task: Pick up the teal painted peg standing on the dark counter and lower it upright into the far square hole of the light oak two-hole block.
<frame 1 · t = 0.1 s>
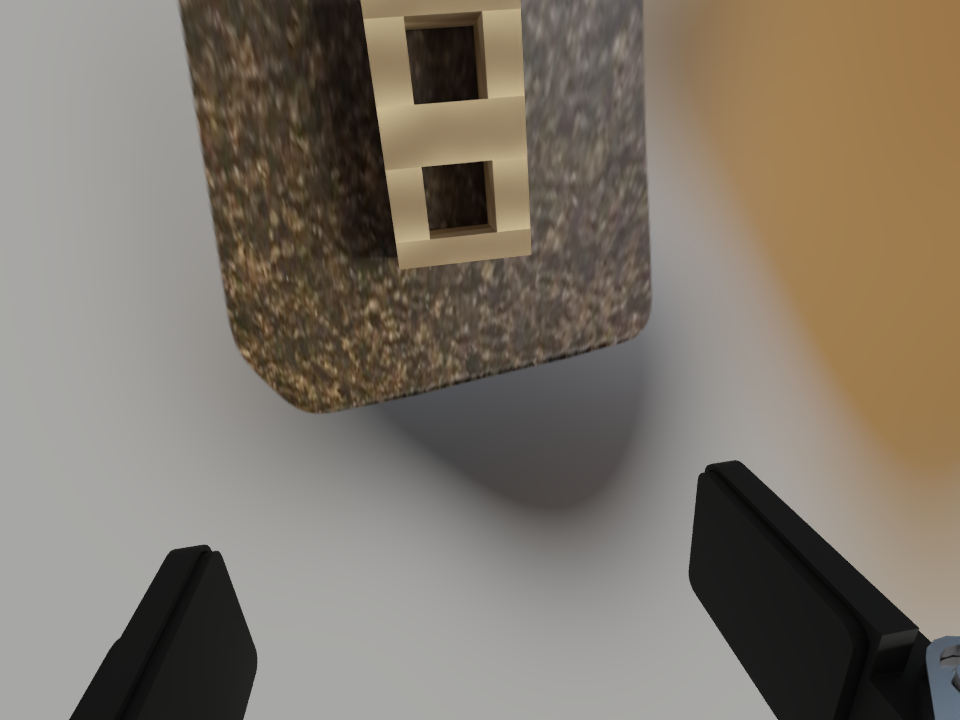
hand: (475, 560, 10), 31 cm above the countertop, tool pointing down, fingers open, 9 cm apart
hole block: (448, 134, 36), on the countertop
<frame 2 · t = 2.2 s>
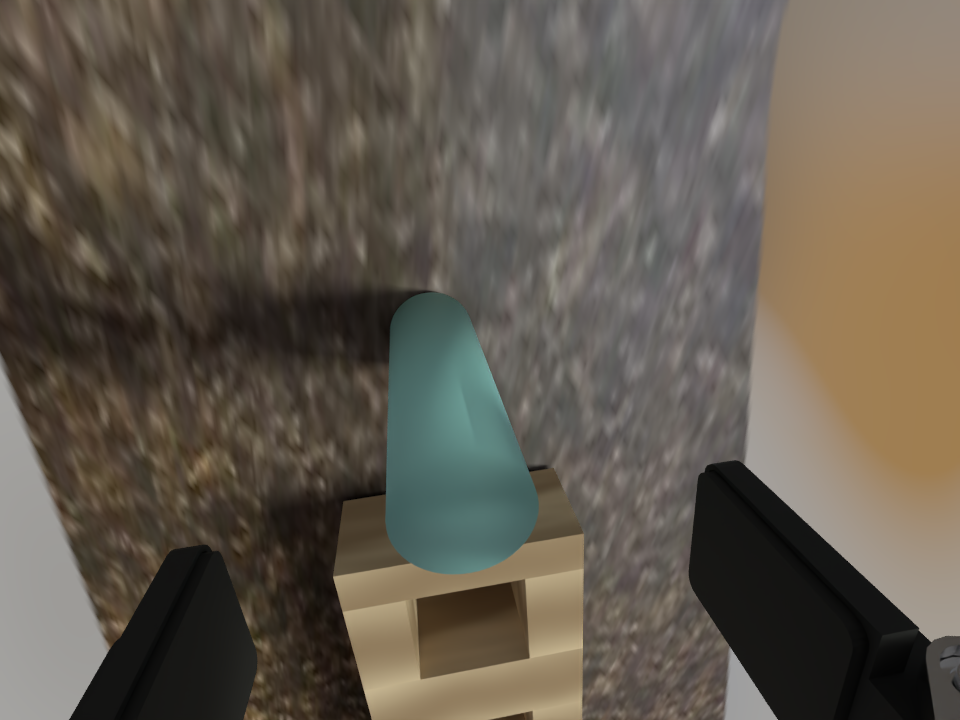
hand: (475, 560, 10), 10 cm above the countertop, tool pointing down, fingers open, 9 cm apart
hole block: (467, 614, 25), on the countertop
peg: (431, 331, 19), on the countertop
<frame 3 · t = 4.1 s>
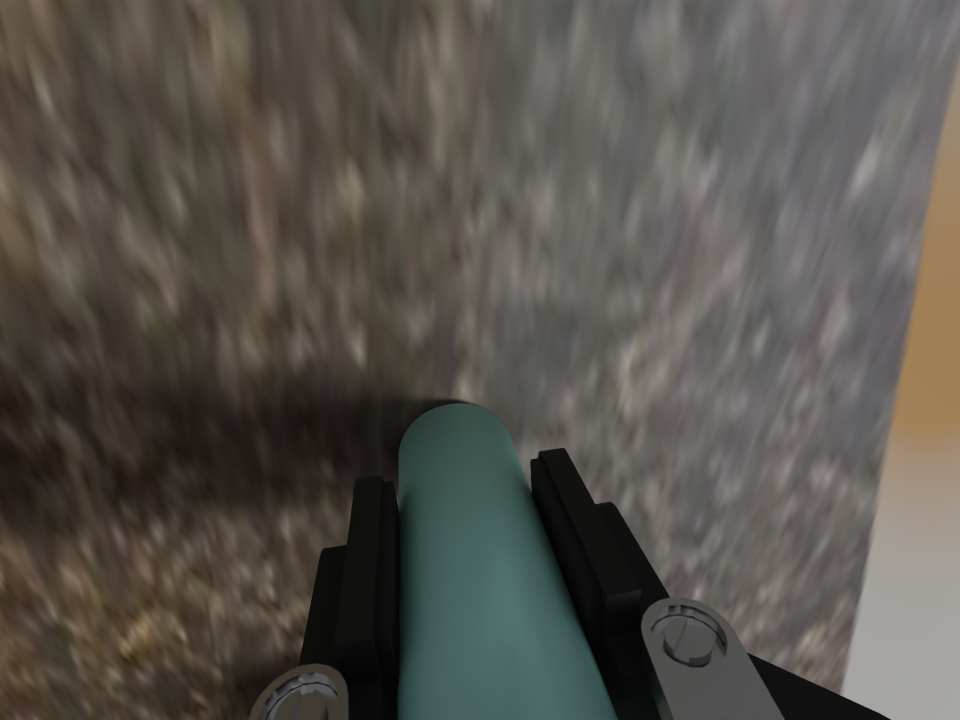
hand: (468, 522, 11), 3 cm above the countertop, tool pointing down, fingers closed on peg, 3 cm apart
peg: (456, 454, 14), on the countertop, touching gripper
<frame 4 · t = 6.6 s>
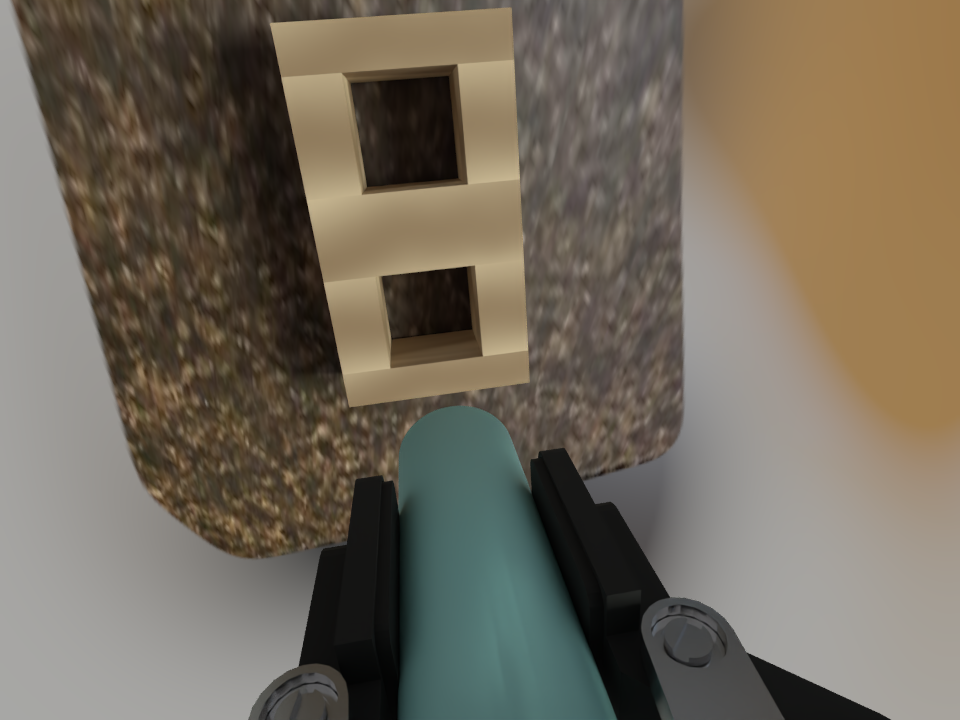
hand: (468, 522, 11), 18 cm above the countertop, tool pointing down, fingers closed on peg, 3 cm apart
hole block: (417, 219, 26), on the countertop
peg: (456, 456, 14), point 16 cm above the countertop, touching gripper
when the fingers open (5 cm above the countertop, at t = 9.4 s): peg drops 2 cm, resting in hole block.
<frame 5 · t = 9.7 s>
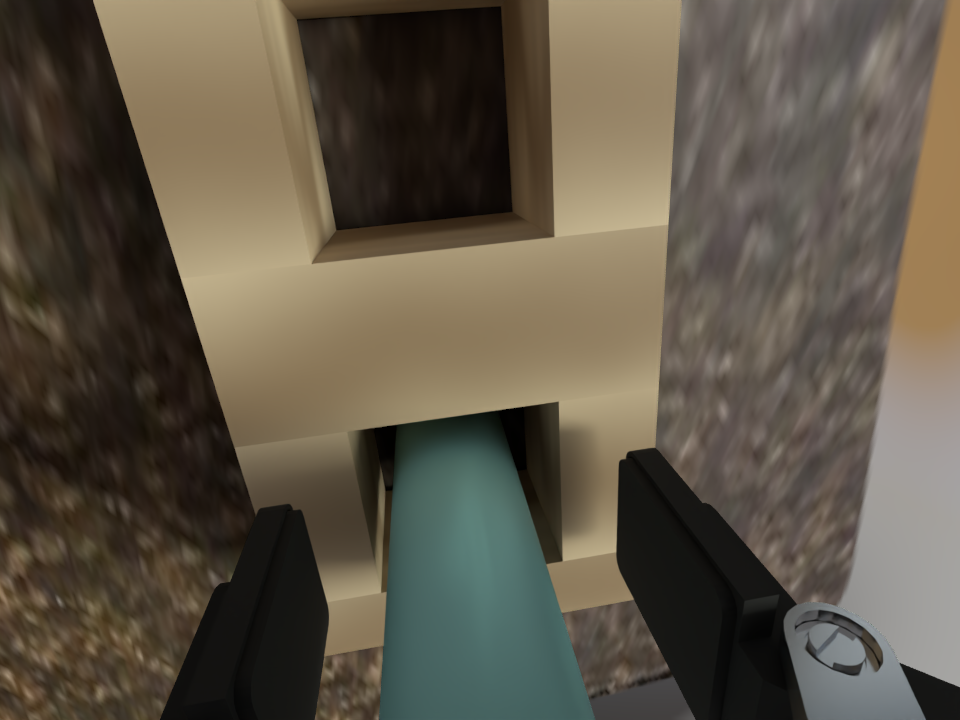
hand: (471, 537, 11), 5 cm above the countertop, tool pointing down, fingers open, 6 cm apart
hole block: (433, 287, 14), on the countertop
peg: (447, 418, 15), resting in hole block
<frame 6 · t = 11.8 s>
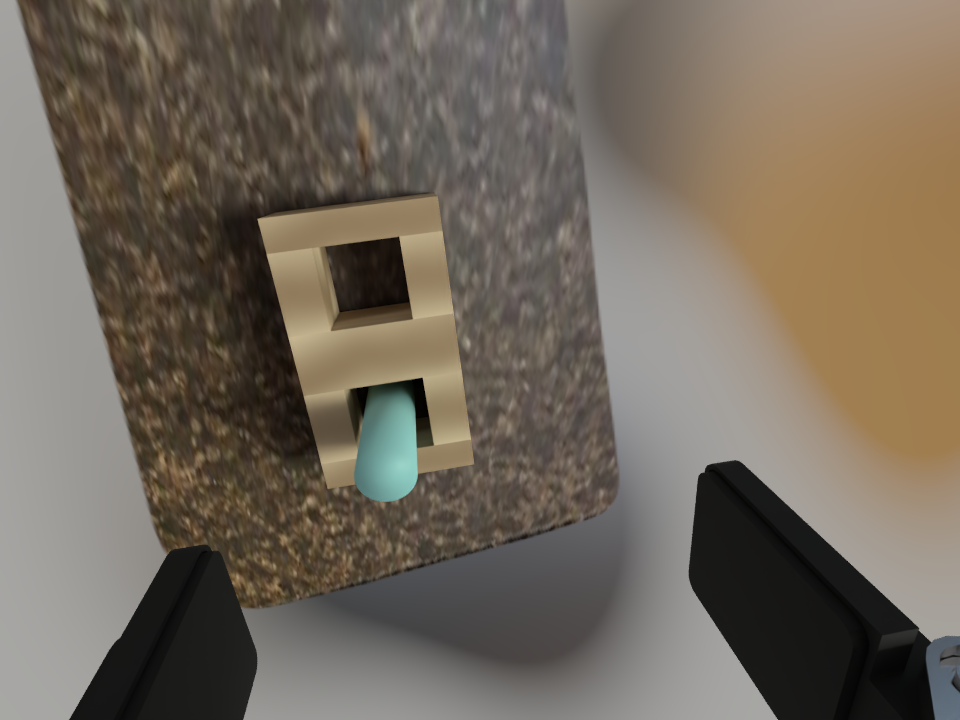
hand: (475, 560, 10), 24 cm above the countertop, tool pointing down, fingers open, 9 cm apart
hole block: (381, 333, 33), on the countertop
peg: (391, 391, 34), resting in hole block
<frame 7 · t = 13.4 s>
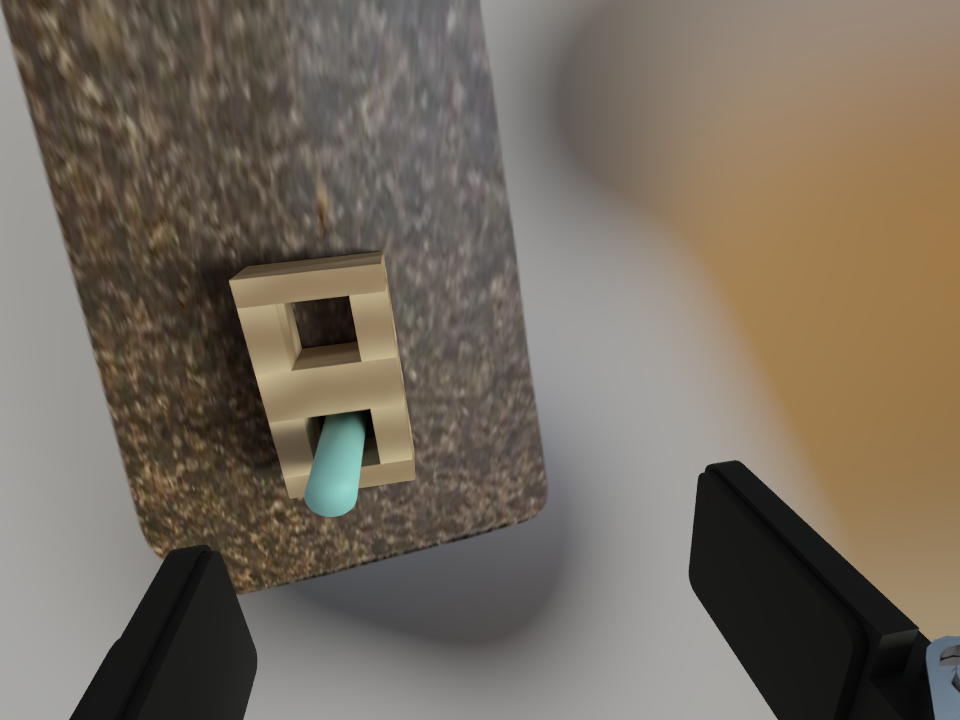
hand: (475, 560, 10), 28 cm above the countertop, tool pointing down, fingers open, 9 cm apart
hole block: (338, 366, 38), on the countertop
peg: (347, 414, 40), resting in hole block
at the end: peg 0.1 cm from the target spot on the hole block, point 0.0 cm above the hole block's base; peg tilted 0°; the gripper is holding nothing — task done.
